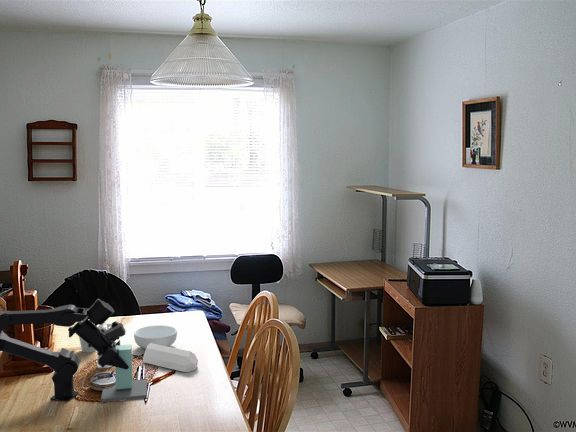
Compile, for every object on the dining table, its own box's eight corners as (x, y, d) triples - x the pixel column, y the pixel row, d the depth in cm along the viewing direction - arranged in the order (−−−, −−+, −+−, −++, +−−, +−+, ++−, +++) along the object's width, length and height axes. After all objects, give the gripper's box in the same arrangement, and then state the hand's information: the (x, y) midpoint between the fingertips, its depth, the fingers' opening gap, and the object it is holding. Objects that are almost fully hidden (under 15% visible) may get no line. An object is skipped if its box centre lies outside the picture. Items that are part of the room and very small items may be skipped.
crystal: (135, 354, 221) (185, 365, 209) (147, 340, 226) (196, 350, 214) (143, 368, 225) (192, 379, 213) (154, 354, 230) (203, 364, 218)
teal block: (116, 389, 192) (115, 350, 191) (117, 383, 197) (116, 345, 196) (132, 387, 193) (131, 349, 192) (132, 382, 198) (131, 344, 197)
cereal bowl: (126, 353, 234) (126, 335, 233) (146, 340, 250) (145, 324, 249) (166, 356, 230) (165, 338, 229) (183, 343, 246) (183, 326, 245)
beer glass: (109, 369, 216) (108, 329, 214) (92, 368, 217) (90, 328, 216) (118, 363, 222) (117, 324, 221) (101, 361, 224) (100, 323, 222)
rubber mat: (101, 402, 187) (100, 399, 187) (104, 385, 201) (104, 382, 201) (146, 398, 190) (146, 394, 190) (146, 381, 204) (146, 379, 204)
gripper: (108, 324, 183) (145, 356, 187) (111, 309, 201) (145, 338, 205) (82, 351, 182) (120, 383, 186) (88, 333, 200) (122, 362, 204)
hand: (128, 365), depth 195 cm, fingers closed on teal block, 5 cm apart
